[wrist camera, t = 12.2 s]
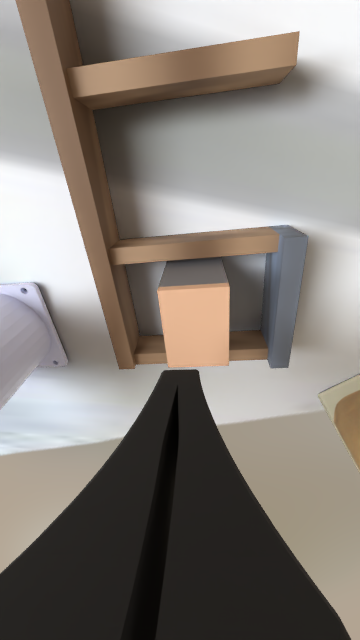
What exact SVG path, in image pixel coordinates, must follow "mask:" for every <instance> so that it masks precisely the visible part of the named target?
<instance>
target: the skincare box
mask: <svg viewBox="0 0 360 640" xmlns="http://www.w3.org/2000/svg"><path fill="white" fill-rule="evenodd" d="M318 398H319V399H320V401H321V403H322V405H323V407H324V409H325V410H326V412H327V414H328V416H329V418H330V420H331V422H332V423H333V425H334V427H335V429H336V431H337V433H338V434H339V436H340V438H341V440H342V442H343V444H344V446H345V447H346V449H347V451H348V453H349V455H350V457H351V459H352V460H353V462H354V464H355V466H356V468H357V470H358V471H359V473H360V374H359V375H357V376H355V377H353V378H351V379H348V380H346V381H344V382H342V383H340V384H338V385H336V386H334V387H332V388H330V389H328V390H326V391H324V392H322V393H319V394H318Z"/></svg>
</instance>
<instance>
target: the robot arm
mask: <svg viewBox="0 0 360 640" xmlns="http://www.w3.org/2000/svg"><path fill="white" fill-rule="evenodd" d="M24 288H25V289H26V290H27V292H26V291H25V290H24ZM55 360H56V361H58V362H56V361H55ZM67 363H68V359H67V356H66V354H65V352H64V349H63V347H62V344H61V342H60V339H59V337H58V334H57V332H56V329H55V327H54V324H53V322H52V319H51V317H50V314H49V312H48V310H47V307H46V305H45V302H44V300H43V297H42V295H41V292H40V290H39V288H38V286H37V285H36V284H34V283H18V284H5V285H0V410H1V409H2V408H3V406H4V405H5V404H6V403H7V402H8V400H9V399H10V398H11V397H12V396H13V394H14V393H15V392H16V391H17V390H18V388H19V387H20V386H21V385H22V384H23V382H24V381H25V380H26V379H27V378H28V376H29V375H30V374H31V373H32V372H33V371H34V369H35V368H36V367H60V366H65V365H66V364H67ZM0 640H351V638H350V636H349V635H348V633H347V631H346V629H345V627H344V625H343V623H342V621H341V619H340V617H339V616H338V614H337V613H336V612H335V610H334V609H333V607H332V606H331V605H330V604H329V602H328V601H327V599H326V598H325V597H324V595H323V594H322V593H321V591H320V590H319V589H318V587H317V586H316V585H315V583H314V582H313V581H312V579H311V578H310V577H309V575H308V574H307V572H306V571H305V570H304V568H303V567H302V565H301V564H300V563H299V561H298V560H297V559H296V557H295V556H294V554H293V553H292V551H291V550H290V548H289V547H288V546H287V544H286V543H285V541H284V540H283V538H282V537H281V536H280V534H279V533H278V531H277V530H276V529H275V527H274V525H273V524H272V522H271V521H270V519H269V517H268V516H267V514H266V513H265V511H264V510H263V508H262V507H261V505H260V504H259V502H258V500H257V499H256V497H255V496H254V494H253V493H252V491H251V490H250V488H249V486H248V484H247V483H246V481H245V480H244V478H243V476H242V474H241V473H240V471H239V469H238V467H237V466H236V464H235V462H234V460H233V458H232V457H231V455H230V453H229V451H228V449H227V447H226V445H225V443H224V441H223V439H222V437H221V435H220V433H219V431H218V429H217V426H216V424H215V422H214V420H213V417H212V415H211V412H210V410H209V407H208V405H207V402H206V399H205V396H204V393H203V390H202V386H201V382H200V376H199V371H198V370H196V369H194V370H164V371H163V372H162V373H161V376H160V378H159V380H158V382H157V384H156V386H155V388H154V390H153V392H152V394H151V395H150V397H149V399H148V401H147V402H146V404H145V406H144V408H143V409H142V411H141V413H140V414H139V416H138V417H137V419H136V421H135V422H134V424H133V425H132V427H131V428H130V430H129V431H128V432H127V434H126V435H125V437H124V438H123V440H122V441H121V443H120V444H119V446H118V447H117V448H116V450H115V451H114V452H113V453H112V455H111V456H110V457H109V459H108V460H107V461H106V462H105V464H104V465H103V466H102V468H101V469H100V470H99V471H98V472H97V474H96V475H95V476H94V477H93V479H92V480H91V481H90V482H89V483H88V484H87V485H86V487H85V488H84V489H83V490H82V491H81V492H80V494H79V495H78V496H77V497H76V498H75V499H74V500H73V501H72V503H71V504H70V505H69V506H68V507H67V508H66V509H65V510H64V511H63V512H62V513H61V514H60V515H59V516H58V517H57V518H56V519H55V520H54V521H53V522H52V524H50V526H49V527H48V528H47V529H46V530H45V531H44V532H43V533H42V534H41V535H40V536H39V537H38V538H37V539H36V540H35V541H34V542H33V543H32V544H31V545H30V546H29V547H28V548H27V549H26V550H25V551H24V552H23V553H22V554H21V555H20V556H19V557H17V558H16V559H15V560H14V561H13V562H12V563H11V564H10V565H9V566H8V567H7V568H6V569H5V570H4V571H3V572H2V573H1V574H0Z"/></svg>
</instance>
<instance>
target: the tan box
mask: <svg viewBox="0 0 360 640" xmlns="http://www.w3.org/2000/svg"><path fill="white" fill-rule="evenodd" d="M157 293H158V300H159V307H160V314H161V321H162V328H163V334H164V341H165V348H166V355H167V362H168V367H198V366H229V300H230V286H229V283H228V279H227V276H226V273H225V269H224V266H223V263H222V259H221V257H208V258H195V259H183V260H170V261H167V263H166V266H165V269H164V272H163V275H162V278H161V281H160V284H159V287H158V290H157Z"/></svg>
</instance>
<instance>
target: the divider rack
mask: <svg viewBox="0 0 360 640" xmlns="http://www.w3.org/2000/svg"><path fill="white" fill-rule="evenodd" d="M16 4H17V7H18V11H19V14H20V18H21V21H22V25H23V28H24V32H25V36H26V39H27V43H28V46H29V50H30V53H31V57H32V60H33V64H34V68H35V71H36V75H37V78H38V82H39V85H40V89H41V92H42V96H43V100H44V103H45V107H46V110H47V114H48V117H49V121H50V124H51V128H52V132H53V135H54V139H55V142H56V146H57V149H58V153H59V156H60V160H61V163H62V167H63V171H64V174H65V178H66V181H67V185H68V188H69V192H70V195H71V199H72V203H73V206H74V210H75V213H76V217H77V220H78V224H79V227H80V231H81V235H82V238H83V242H84V245H85V249H86V252H87V256H88V259H89V263H90V267H91V270H92V274H93V277H94V281H95V284H96V288H97V291H98V295H99V298H100V302H101V306H102V309H103V313H104V316H105V320H106V323H107V327H108V330H109V334H110V338H111V341H112V345H113V348H114V352H115V355H116V359H117V362H118V366H119V369H135V366H136V364H161V363H168V362H167V355H166V348H165V341H164V335H152V336H140V334H139V329H138V324H137V320H136V315H135V310H134V305H133V301H132V296H131V291H130V286H129V282H128V277H127V272H126V267H125V264H132V263H145V262H157V261H170V260H183V259H195V258H208V257H221V256H233V255H246V254H259V253H266V265H265V279H264V292H263V305H262V318H261V330H251V331H231V332H229V361H238V360H263V359H267V360H268V363H269V365H270V368H288V366H289V359H290V353H291V347H292V340H293V334H294V327H295V321H296V314H297V308H298V301H299V295H300V288H301V282H302V275H303V269H304V262H305V256H306V249H307V243H308V237H309V236H307V235H305V234H304V233H302V232H300V231H298V230H296V229H294V228H292V227H290V226H289V225H280V226H269V227H258V228H247V229H235V230H224V231H213V232H201V233H190V234H179V235H168V236H156V237H145V238H134V239H123V240H120V239H119V234H118V229H117V224H116V220H115V215H114V210H113V205H112V201H111V196H110V191H109V186H108V182H107V177H106V172H105V167H104V163H103V158H102V153H101V148H100V144H99V139H98V134H97V129H96V125H95V120H94V115H93V110H97V109H104V108H111V107H118V106H125V105H132V104H139V103H146V102H153V101H160V100H167V99H174V98H181V97H188V96H195V95H203V94H210V93H217V92H224V91H231V90H238V89H245V88H252V87H259V86H266V85H273V84H279V83H280V82H281V81H282V80H283V79H284V78H285V77H286V76H287V75H288V73H289V72H290V71H291V70H292V69H293V68H294V67H295V66H296V62H297V52H298V42H299V32H292V33H286V34H280V35H274V36H267V37H261V38H255V39H249V40H242V41H236V42H230V43H224V44H217V45H211V46H205V47H199V48H192V49H186V50H180V51H173V52H167V53H161V54H155V55H148V56H142V57H136V58H130V59H123V60H117V61H111V62H105V63H98V64H92V65H86V66H83V63H82V58H81V53H80V48H79V44H78V39H77V34H76V29H75V25H74V20H73V15H72V10H71V6H70V1H69V0H16Z"/></svg>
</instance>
